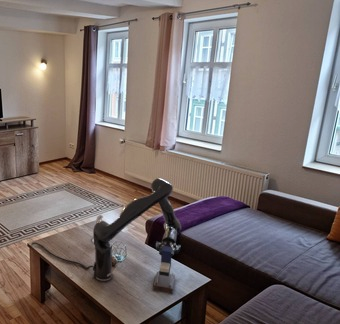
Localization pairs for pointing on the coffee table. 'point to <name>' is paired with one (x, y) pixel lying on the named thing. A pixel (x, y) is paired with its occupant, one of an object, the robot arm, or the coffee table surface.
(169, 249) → the blue rectangular block
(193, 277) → the coffee table surface
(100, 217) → the female figurine
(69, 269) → the coffee table surface
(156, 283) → the wooden base with rails
